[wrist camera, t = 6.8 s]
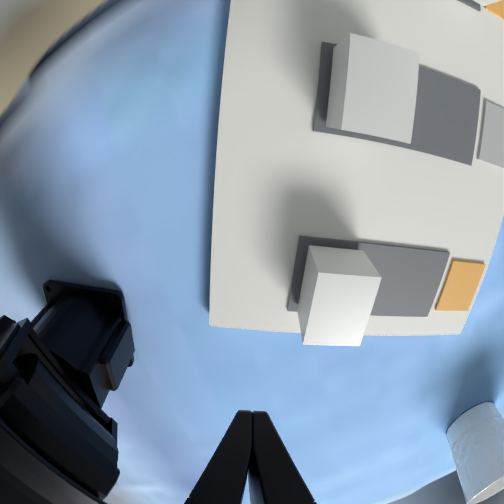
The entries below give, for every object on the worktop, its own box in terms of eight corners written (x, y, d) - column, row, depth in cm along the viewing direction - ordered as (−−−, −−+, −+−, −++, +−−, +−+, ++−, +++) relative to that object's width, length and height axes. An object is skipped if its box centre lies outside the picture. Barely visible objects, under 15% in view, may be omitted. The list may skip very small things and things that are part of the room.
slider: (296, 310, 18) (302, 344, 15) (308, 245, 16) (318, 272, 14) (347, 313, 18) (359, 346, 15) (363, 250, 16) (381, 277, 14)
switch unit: (211, 316, 20) (208, 327, 19) (249, -111, 9) (248, -121, 8) (454, 326, 20) (461, 335, 19) (504, -30, 9) (513, -33, 8)
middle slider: (325, 126, 14) (341, 129, 11) (333, 47, 12) (350, 33, 10) (384, 137, 14) (410, 143, 11) (392, 61, 12) (419, 52, 10)
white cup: (433, 429, 26) (460, 502, 17) (492, 387, 24) (530, 456, 15) (450, 446, 28) (473, 507, 19) (501, 410, 26) (531, 468, 17)
